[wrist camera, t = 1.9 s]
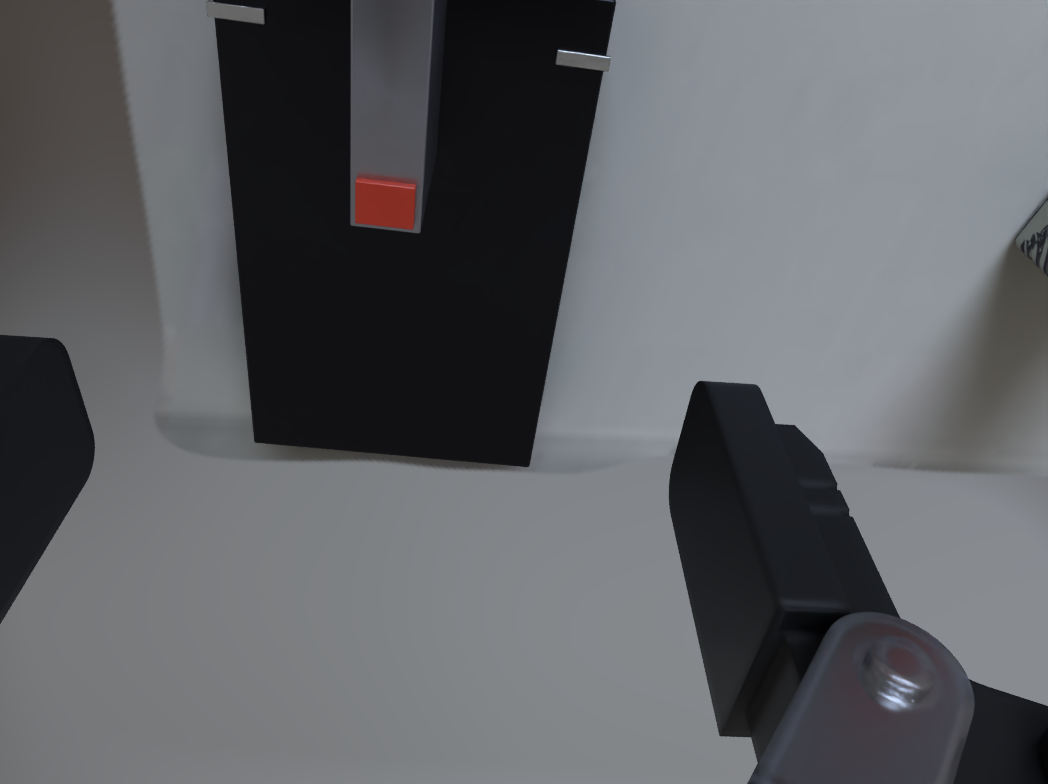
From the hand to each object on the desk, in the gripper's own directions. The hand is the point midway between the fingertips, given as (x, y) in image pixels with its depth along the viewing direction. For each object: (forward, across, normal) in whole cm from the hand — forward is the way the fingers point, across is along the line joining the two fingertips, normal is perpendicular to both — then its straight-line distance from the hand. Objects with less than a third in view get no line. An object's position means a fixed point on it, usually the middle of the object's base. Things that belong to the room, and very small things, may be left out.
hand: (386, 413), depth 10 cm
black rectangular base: (+17, +1, +3) cm, 17 cm away
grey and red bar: (+13, +1, -1) cm, 14 cm away
